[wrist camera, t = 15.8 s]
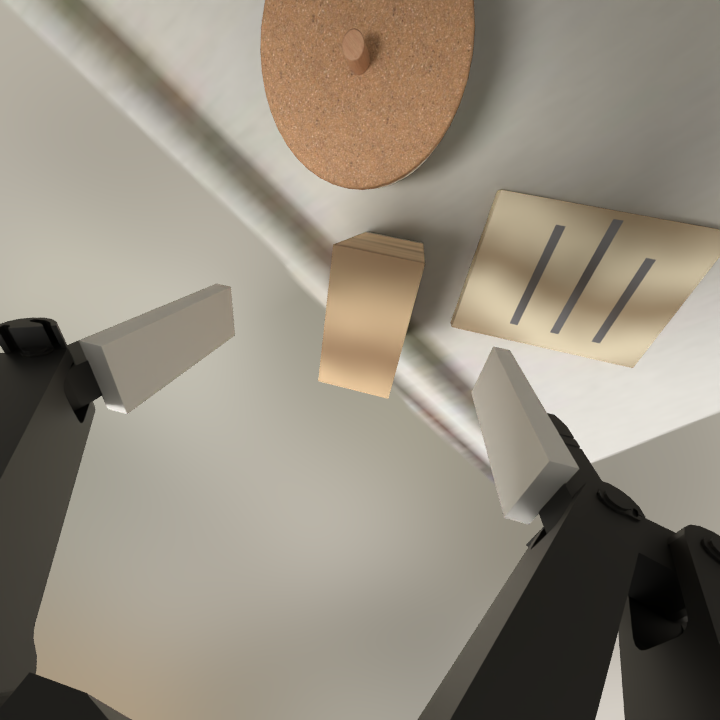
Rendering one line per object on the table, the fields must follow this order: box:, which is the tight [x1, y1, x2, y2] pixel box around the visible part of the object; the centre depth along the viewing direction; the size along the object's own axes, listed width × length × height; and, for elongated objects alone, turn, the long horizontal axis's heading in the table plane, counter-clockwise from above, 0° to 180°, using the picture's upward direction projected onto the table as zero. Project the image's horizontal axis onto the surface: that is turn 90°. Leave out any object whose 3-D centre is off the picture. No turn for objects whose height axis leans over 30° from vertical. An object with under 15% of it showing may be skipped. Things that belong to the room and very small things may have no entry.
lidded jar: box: [260, 0, 475, 190], centre depth 16 cm, size 11×11×9 cm
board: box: [450, 190, 720, 368], centre depth 23 cm, size 11×16×1 cm
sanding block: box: [318, 232, 425, 399], centre depth 22 cm, size 9×5×11 cm, turn 171°
